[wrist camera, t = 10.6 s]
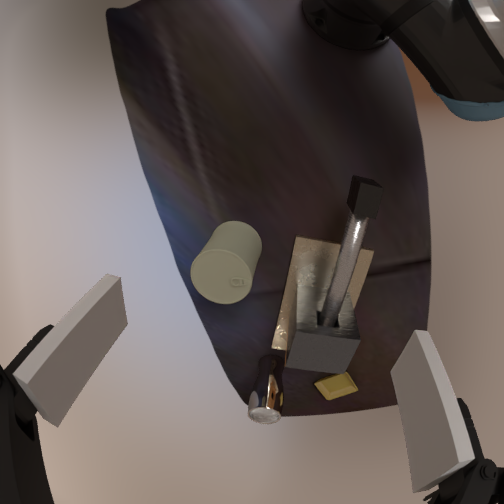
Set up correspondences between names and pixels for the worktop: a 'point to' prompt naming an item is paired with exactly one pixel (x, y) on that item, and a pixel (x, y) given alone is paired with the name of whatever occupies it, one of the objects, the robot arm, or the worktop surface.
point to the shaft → (350, 244)
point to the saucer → (336, 385)
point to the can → (227, 263)
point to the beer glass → (267, 391)
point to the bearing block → (318, 308)
